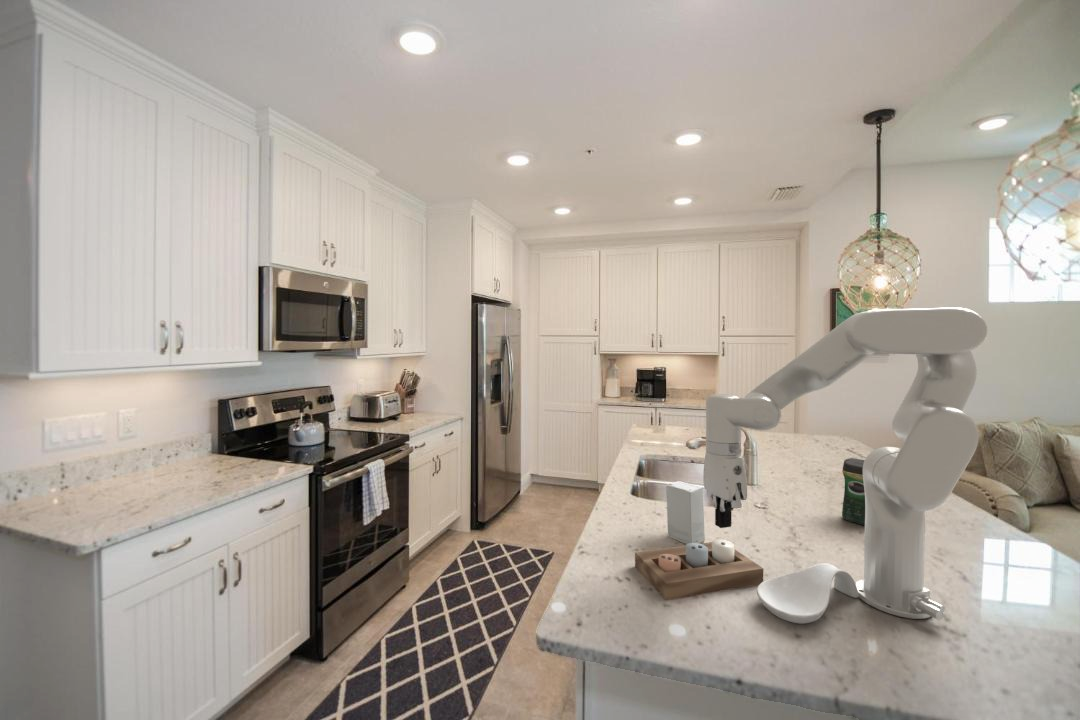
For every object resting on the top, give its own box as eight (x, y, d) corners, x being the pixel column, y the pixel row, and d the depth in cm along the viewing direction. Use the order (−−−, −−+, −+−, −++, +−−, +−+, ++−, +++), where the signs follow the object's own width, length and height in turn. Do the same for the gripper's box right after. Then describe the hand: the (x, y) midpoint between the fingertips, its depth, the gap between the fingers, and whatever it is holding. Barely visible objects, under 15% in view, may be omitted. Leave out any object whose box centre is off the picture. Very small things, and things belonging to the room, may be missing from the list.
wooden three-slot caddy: (763, 583, 95) (763, 568, 95) (666, 599, 89) (666, 583, 89) (721, 554, 108) (721, 540, 108) (635, 566, 103) (635, 552, 102)
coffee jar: (886, 523, 127) (887, 461, 126) (876, 530, 122) (877, 465, 122) (848, 513, 135) (849, 454, 134) (837, 519, 130) (838, 458, 130)
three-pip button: (684, 582, 95) (685, 561, 95) (665, 585, 94) (665, 564, 94) (673, 571, 100) (673, 551, 100) (654, 573, 99) (654, 554, 99)
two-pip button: (712, 570, 97) (712, 550, 97) (693, 573, 96) (693, 552, 96) (699, 560, 102) (699, 540, 101) (681, 562, 100) (681, 543, 100)
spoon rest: (799, 641, 77) (800, 602, 76) (743, 605, 87) (744, 571, 87) (876, 607, 87) (877, 573, 86) (817, 579, 97) (818, 548, 97)
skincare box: (705, 542, 115) (705, 487, 115) (690, 547, 112) (691, 491, 112) (679, 530, 122) (679, 479, 122) (665, 536, 119) (665, 483, 119)
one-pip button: (738, 566, 99) (739, 546, 99) (720, 568, 97) (720, 549, 97) (724, 556, 103) (725, 537, 103) (707, 558, 102) (707, 539, 102)
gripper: (761, 454, 93) (760, 537, 94) (716, 440, 108) (716, 512, 108) (731, 457, 91) (731, 542, 92) (690, 442, 106) (690, 515, 106)
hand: (723, 525), depth 100 cm, fingers closed
